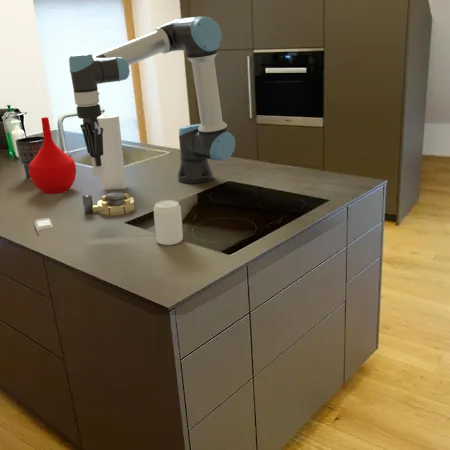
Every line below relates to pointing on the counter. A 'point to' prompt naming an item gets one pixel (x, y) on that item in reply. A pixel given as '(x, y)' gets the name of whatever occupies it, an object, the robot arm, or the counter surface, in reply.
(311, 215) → the counter surface
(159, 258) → the counter surface
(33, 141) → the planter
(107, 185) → the cylinder container
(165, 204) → the beverage can
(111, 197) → the grey flat cylinder
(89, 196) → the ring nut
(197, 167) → the robot arm
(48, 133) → the vase
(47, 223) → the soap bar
